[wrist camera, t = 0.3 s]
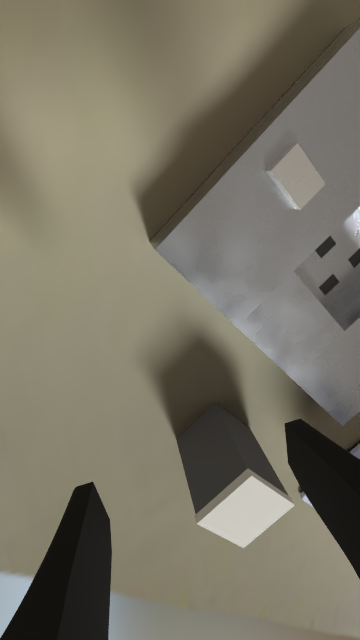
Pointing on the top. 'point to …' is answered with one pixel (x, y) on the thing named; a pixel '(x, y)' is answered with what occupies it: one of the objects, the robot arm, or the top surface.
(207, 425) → the plug
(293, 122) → the socket plate
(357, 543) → the robot arm
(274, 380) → the top surface
